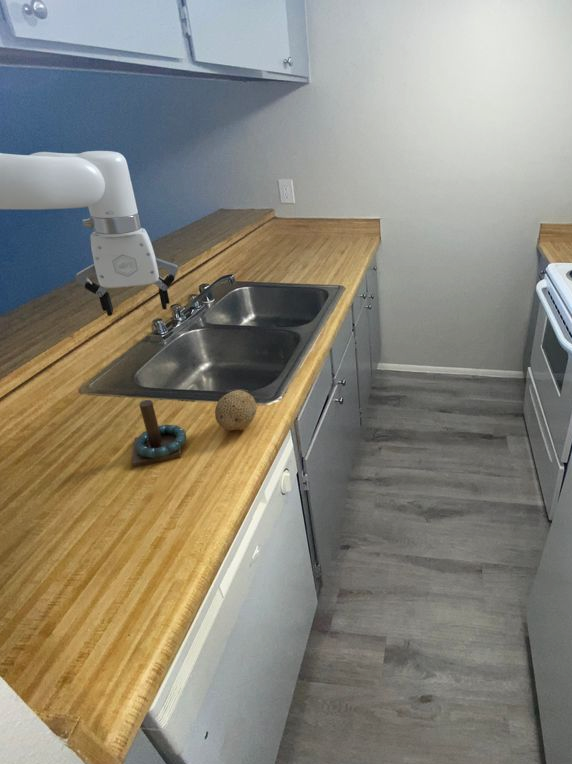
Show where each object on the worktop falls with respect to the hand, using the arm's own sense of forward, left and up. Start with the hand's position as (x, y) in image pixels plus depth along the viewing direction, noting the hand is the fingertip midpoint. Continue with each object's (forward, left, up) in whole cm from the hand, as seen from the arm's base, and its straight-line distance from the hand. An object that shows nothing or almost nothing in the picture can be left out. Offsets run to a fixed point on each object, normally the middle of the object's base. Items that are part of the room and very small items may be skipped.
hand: (138, 310), depth 94 cm
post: (-2, -6, -30) cm, 31 cm away
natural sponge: (+15, -5, -31) cm, 34 cm away
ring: (-1, -6, -28) cm, 29 cm away
